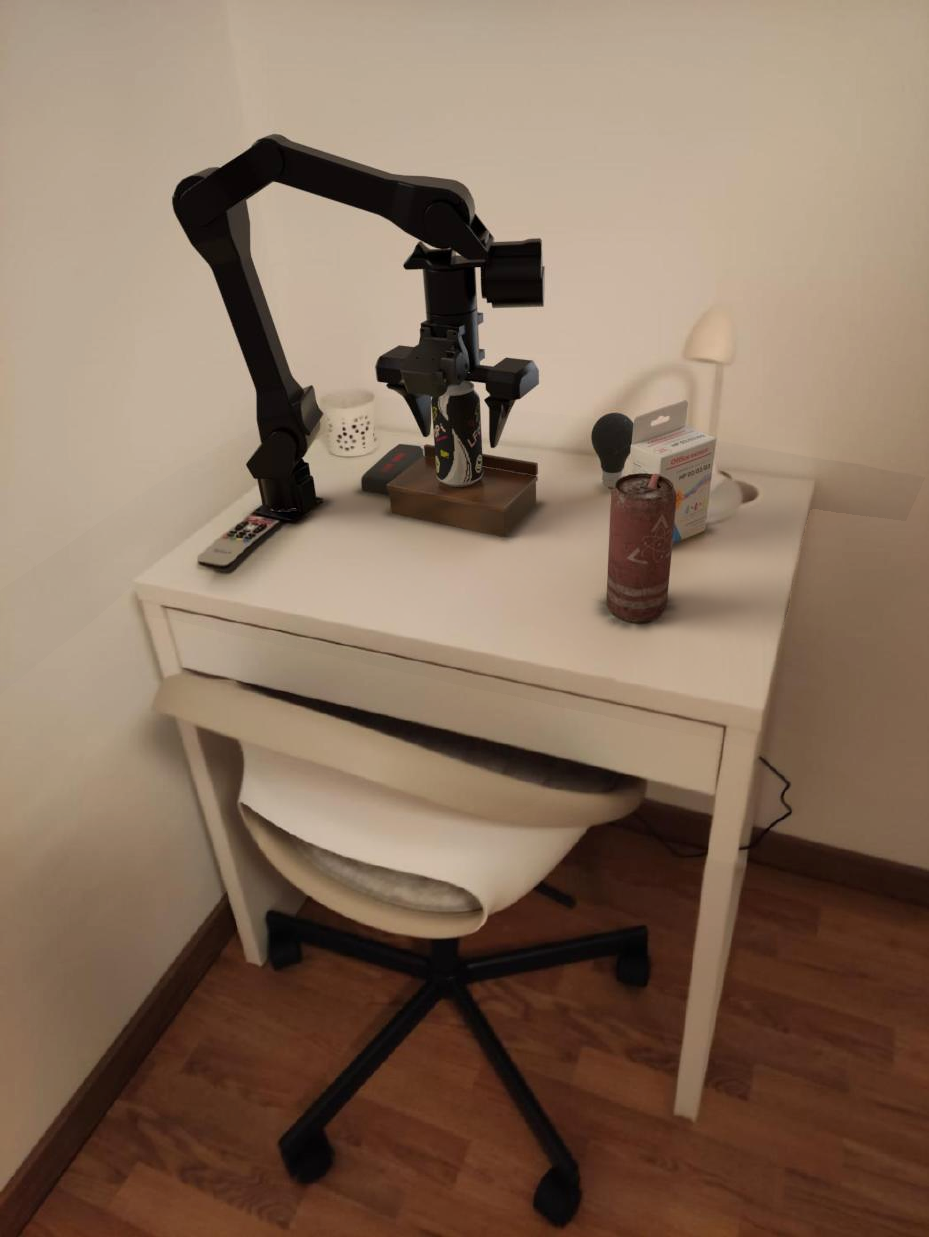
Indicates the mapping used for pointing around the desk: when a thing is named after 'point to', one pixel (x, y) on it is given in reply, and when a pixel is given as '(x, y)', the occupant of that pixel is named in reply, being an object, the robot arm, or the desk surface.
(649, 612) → the can
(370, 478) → the usb drive
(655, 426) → the ink box
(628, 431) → the light bulb
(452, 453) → the beverage can
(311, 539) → the desk surface
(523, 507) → the step shelf
